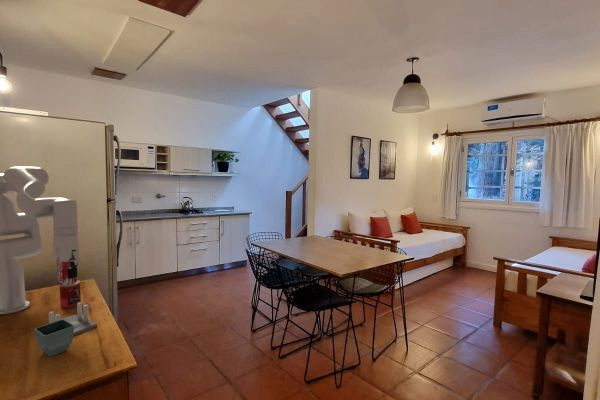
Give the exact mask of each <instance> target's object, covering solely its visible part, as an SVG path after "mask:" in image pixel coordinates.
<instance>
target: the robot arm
mask: <svg viewBox="0 0 600 400" xmlns="http://www.w3.org/2000/svg"><path fill="white" fill-rule="evenodd" d="M49 178H50V176H49V173H48V172H47V170H45V169H44V168H42V167H38V166H12V167H9V168H7V169H6V170H5V171H3V173H0V237H8V236H9V237H10V236H15V235H22V234H23V236H19V237H18V236H16V237H11V238H4V239H0V315H8V314H14V313H18V312H20V311H23V310H25V309H27V308H29V307H30V305H31V302H30V301H28V300H26V290H25V286H26V285H25V270H24V268H25V267H24V266H23V265H22V264H21V263H20V262H18V261H17V260H20V259H24V258H28V257H29V258H30V257H34V256H37V255H39V254H40V253H41V252H42V250H43V242H42V236H41V230H40V224H39V220H38V219H44V218H45V219H46V218H52V223H53V225H52V226H53V227H52V228H53V238H52V239H53V240H52V241H53V242H52V258H53V260H55V261H56V262H57V258H58V257H59V258H60V260H61V261H62V262H67V264H68V268H69V269H67V276H68V279H72V278H76V277H77V278H78V267H79V266H78V265H79V263H80V260H81V259H80V247H79V239H78V234H79V228H78V227H79V226H78V203H77V201H76V199H72V198H65V197H58V196H57V197H41V196H42V195H43V194H44V193H45V191H46V185H47V184H49V183H48V182H49ZM5 194H16V205H17V207H18V210H20V211H21V212H19V213H17V212H16V208H15V204H14V202H13V201H12V199H10V197H8V196H7V195H5ZM71 258H73V259H74V260H70V259H71ZM70 262H72V264H71V263H70Z"/></svg>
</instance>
